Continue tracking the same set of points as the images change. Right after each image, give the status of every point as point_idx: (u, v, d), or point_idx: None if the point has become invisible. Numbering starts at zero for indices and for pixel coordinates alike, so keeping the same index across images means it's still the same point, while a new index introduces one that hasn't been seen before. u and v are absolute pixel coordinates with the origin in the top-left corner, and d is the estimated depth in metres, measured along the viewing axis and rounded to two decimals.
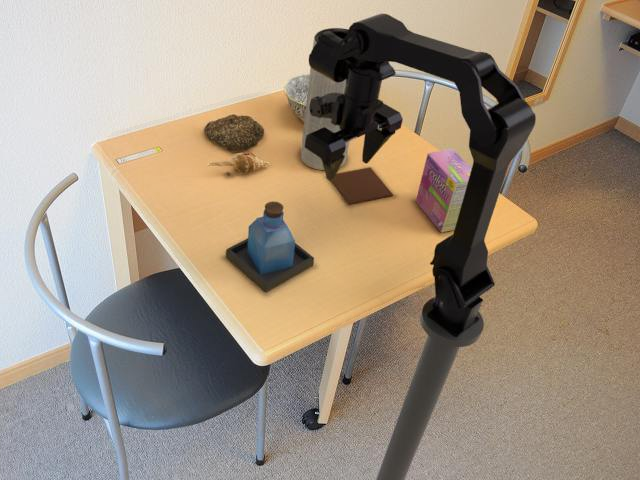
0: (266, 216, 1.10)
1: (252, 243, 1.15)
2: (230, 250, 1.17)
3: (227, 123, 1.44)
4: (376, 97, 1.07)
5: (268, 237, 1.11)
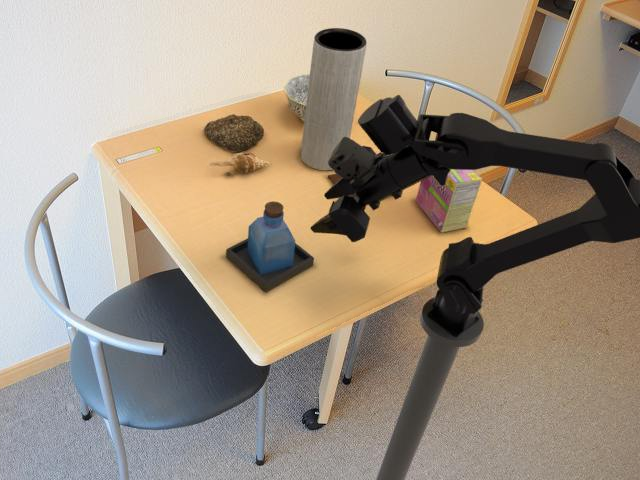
0: (266, 216, 1.10)
1: (252, 243, 1.15)
2: (230, 250, 1.17)
3: (227, 123, 1.44)
4: None
5: (268, 237, 1.11)
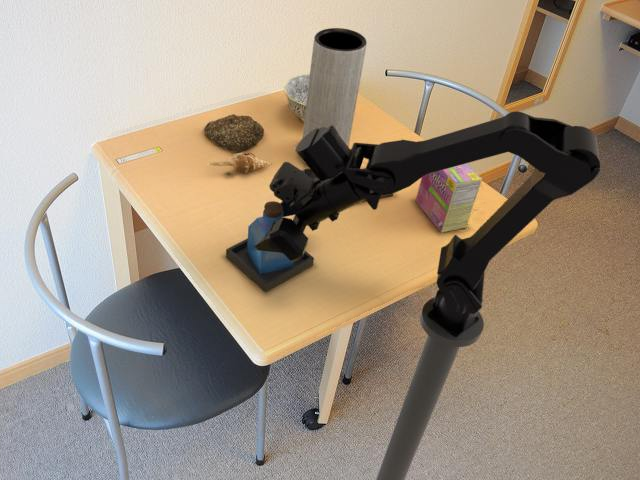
0: (266, 216, 1.10)
1: (252, 243, 1.15)
2: (230, 250, 1.17)
3: (227, 123, 1.44)
4: None
5: None
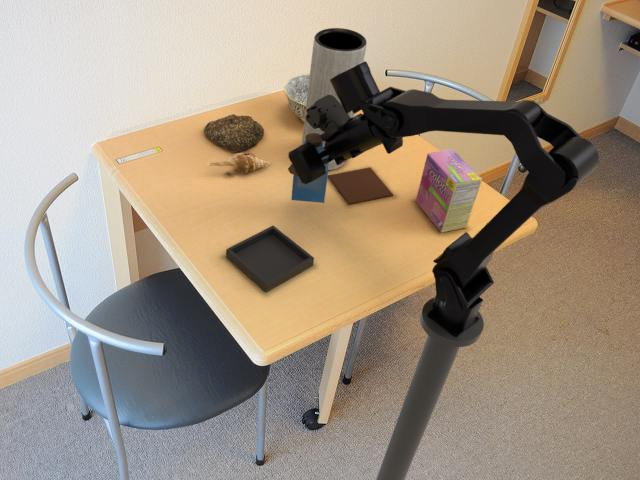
0: None
1: None
2: (230, 250, 1.17)
3: (227, 123, 1.44)
4: None
5: None
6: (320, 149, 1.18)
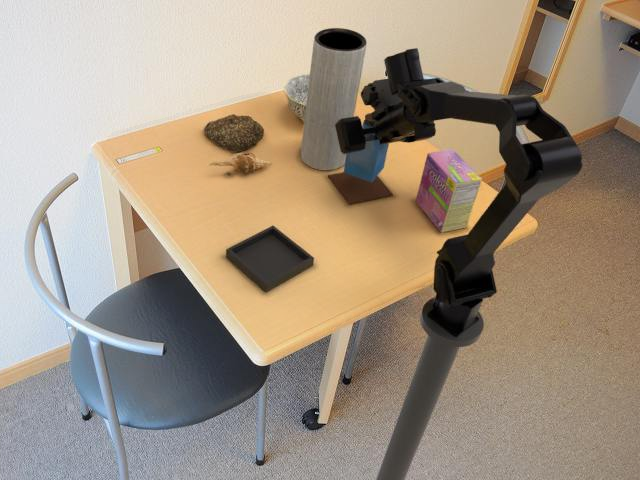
0: (364, 121, 1.26)
1: None
2: (230, 250, 1.17)
3: (227, 123, 1.44)
4: (412, 133, 1.14)
5: None
6: None
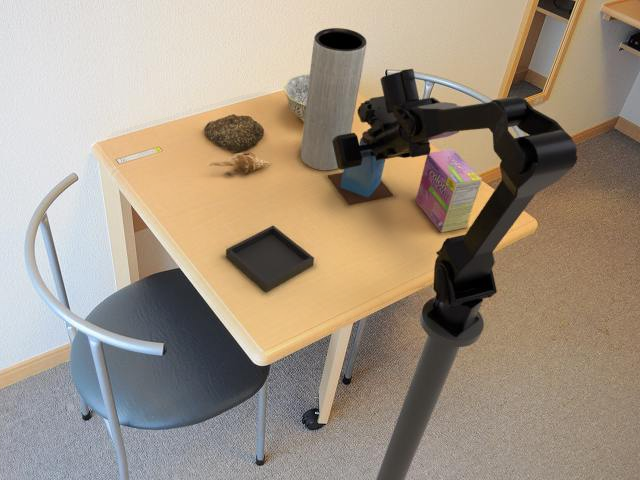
0: (361, 139, 1.29)
1: None
2: (230, 250, 1.17)
3: (227, 123, 1.44)
4: (407, 150, 1.17)
5: None
6: None
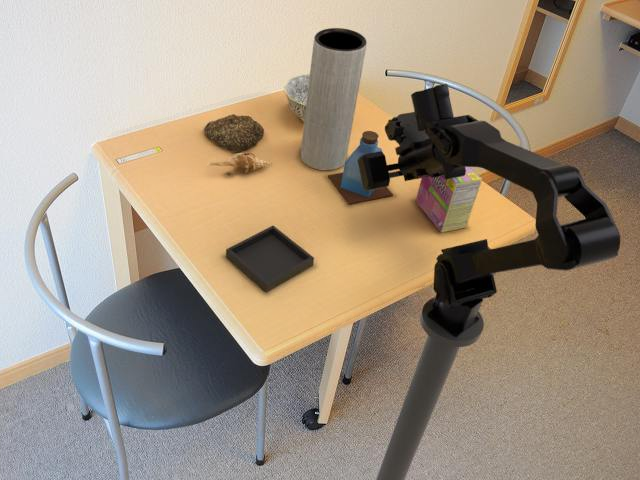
0: (361, 139, 1.29)
1: None
2: (230, 250, 1.17)
3: (227, 123, 1.44)
4: (439, 171, 1.09)
5: (353, 156, 1.29)
6: (373, 147, 1.27)
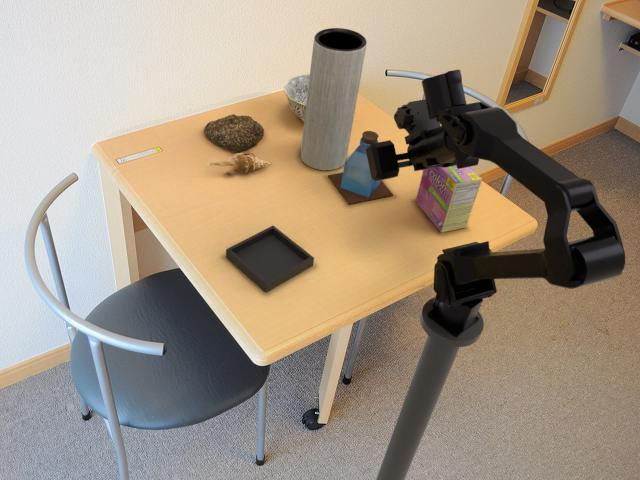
0: (361, 139, 1.29)
1: None
2: (230, 250, 1.17)
3: (227, 123, 1.44)
4: None
5: (353, 156, 1.29)
6: None
